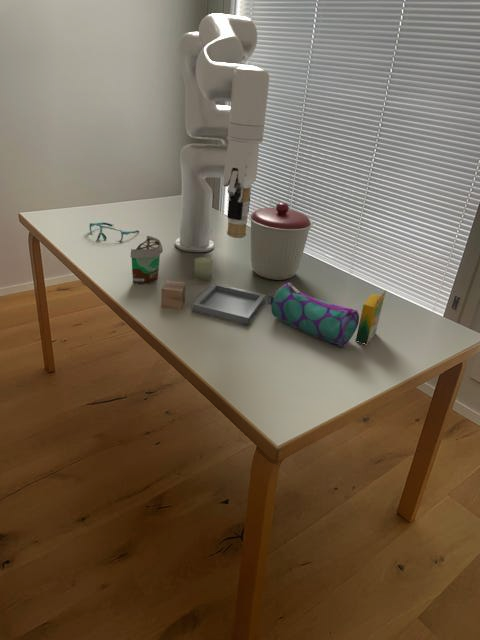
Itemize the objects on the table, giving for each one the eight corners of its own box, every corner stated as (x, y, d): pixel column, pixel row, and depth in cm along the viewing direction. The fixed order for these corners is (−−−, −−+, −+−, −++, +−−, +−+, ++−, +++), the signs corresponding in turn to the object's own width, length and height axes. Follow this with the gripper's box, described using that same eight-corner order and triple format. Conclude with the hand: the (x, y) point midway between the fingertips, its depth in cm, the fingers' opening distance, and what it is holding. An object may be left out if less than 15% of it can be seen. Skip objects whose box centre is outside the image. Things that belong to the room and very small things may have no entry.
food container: (153, 289, 130) (153, 253, 126) (130, 285, 131) (130, 249, 127) (168, 272, 141) (169, 238, 136) (147, 268, 142) (147, 235, 137)
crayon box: (364, 329, 122) (374, 286, 116) (376, 333, 121) (387, 289, 115) (354, 341, 116) (364, 296, 111) (366, 345, 115) (378, 300, 109)
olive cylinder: (198, 272, 143) (199, 255, 141) (214, 275, 142) (215, 259, 140) (191, 278, 139) (191, 261, 137) (207, 282, 138) (208, 265, 135)
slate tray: (213, 289, 134) (214, 282, 133) (265, 301, 130) (265, 294, 129) (191, 311, 122) (192, 304, 121) (247, 325, 118) (248, 318, 117)
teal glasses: (81, 236, 161) (81, 221, 159) (109, 229, 174) (109, 214, 172) (118, 245, 156) (119, 230, 154) (144, 237, 169) (145, 223, 167)
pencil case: (264, 320, 121) (268, 284, 117) (284, 309, 127) (290, 275, 123) (338, 355, 110) (347, 316, 106) (357, 341, 116) (366, 304, 112)
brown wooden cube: (165, 298, 127) (165, 280, 124) (184, 300, 127) (185, 282, 124) (161, 307, 122) (161, 288, 120) (181, 309, 122) (182, 291, 120)
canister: (315, 275, 149) (327, 205, 139) (280, 291, 137) (291, 216, 127) (267, 257, 159) (275, 191, 149) (230, 271, 146) (237, 199, 136)
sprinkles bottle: (240, 231, 120) (246, 174, 113) (249, 238, 116) (255, 179, 110) (223, 232, 118) (227, 175, 111) (231, 239, 114) (236, 180, 108)
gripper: (242, 126, 114) (234, 204, 123) (214, 134, 100) (209, 222, 109) (273, 130, 112) (264, 210, 121) (250, 139, 98) (241, 229, 107)
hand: (238, 215), depth 115 cm, fingers closed on sprinkles bottle, 4 cm apart
